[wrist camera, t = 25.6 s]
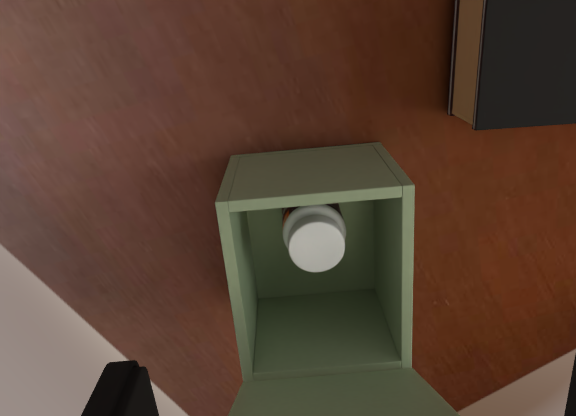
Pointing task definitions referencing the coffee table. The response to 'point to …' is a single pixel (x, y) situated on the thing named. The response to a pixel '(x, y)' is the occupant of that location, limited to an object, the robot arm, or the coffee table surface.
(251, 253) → the chest
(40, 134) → the coffee table surface
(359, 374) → the lid
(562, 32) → the book
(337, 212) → the pill bottle
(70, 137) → the coffee table surface
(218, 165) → the coffee table surface
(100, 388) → the robot arm
